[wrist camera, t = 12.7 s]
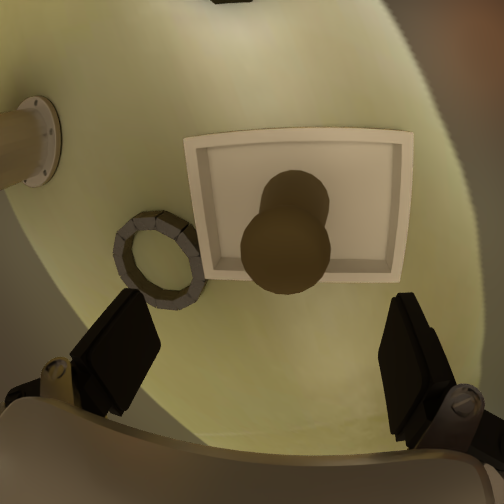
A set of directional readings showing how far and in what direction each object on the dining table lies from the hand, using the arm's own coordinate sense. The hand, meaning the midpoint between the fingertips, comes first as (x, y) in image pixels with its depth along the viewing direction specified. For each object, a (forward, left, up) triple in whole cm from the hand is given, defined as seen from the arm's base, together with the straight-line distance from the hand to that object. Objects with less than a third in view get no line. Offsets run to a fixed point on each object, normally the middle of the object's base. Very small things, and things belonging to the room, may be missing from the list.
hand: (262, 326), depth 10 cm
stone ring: (-14, -6, -17) cm, 23 cm away
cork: (0, 0, -17) cm, 16 cm away
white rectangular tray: (+1, 0, -17) cm, 17 cm away
